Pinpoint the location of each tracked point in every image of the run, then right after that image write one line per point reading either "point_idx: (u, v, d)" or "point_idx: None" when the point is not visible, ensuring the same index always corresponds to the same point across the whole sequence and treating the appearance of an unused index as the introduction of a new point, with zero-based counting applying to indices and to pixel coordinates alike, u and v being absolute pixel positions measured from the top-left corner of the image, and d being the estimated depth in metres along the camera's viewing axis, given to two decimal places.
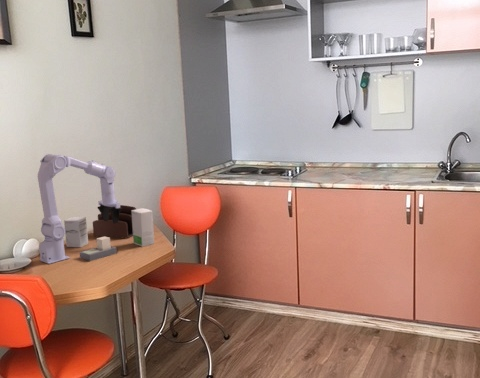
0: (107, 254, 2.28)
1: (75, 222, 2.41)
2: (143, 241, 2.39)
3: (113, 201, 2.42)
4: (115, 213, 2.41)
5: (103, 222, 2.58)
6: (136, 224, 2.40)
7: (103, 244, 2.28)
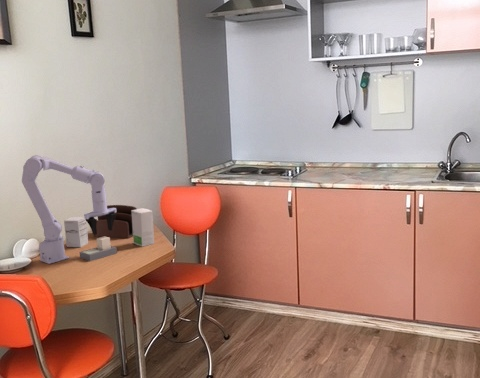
0: (107, 254, 2.28)
1: (75, 222, 2.41)
2: (143, 241, 2.39)
3: (95, 211, 2.25)
4: None
5: (103, 222, 2.58)
6: (136, 224, 2.40)
7: (103, 244, 2.28)
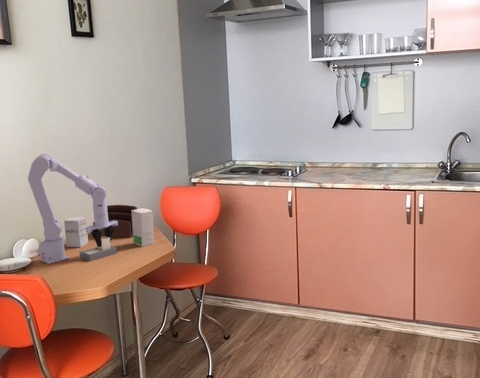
0: (107, 254, 2.28)
1: (75, 222, 2.41)
2: (143, 241, 2.39)
3: (96, 224, 2.26)
4: (97, 236, 2.28)
5: None
6: (136, 224, 2.40)
7: (103, 244, 2.28)
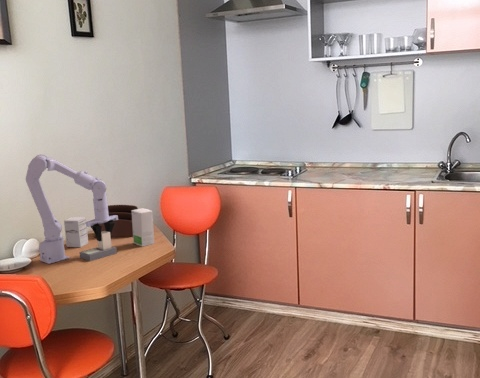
0: (107, 254, 2.28)
1: (75, 222, 2.41)
2: (143, 241, 2.39)
3: (97, 219, 2.26)
4: (97, 230, 2.28)
5: None
6: (136, 224, 2.40)
7: (103, 238, 2.28)
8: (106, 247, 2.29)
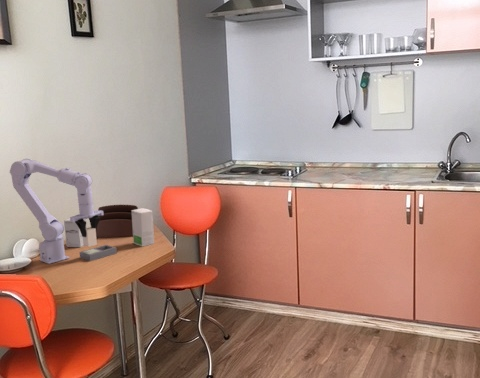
0: (107, 254, 2.28)
1: None
2: (143, 241, 2.39)
3: (81, 214, 2.21)
4: None
5: (106, 222, 2.57)
6: (136, 224, 2.40)
7: (88, 235, 2.22)
8: (91, 244, 2.24)
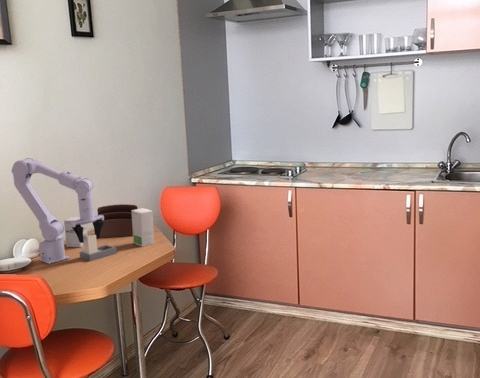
0: (107, 254, 2.28)
1: None
2: (143, 241, 2.39)
3: (82, 219, 2.21)
4: (79, 232, 2.21)
5: (107, 222, 2.57)
6: (136, 224, 2.40)
7: (89, 241, 2.23)
8: (92, 250, 2.24)
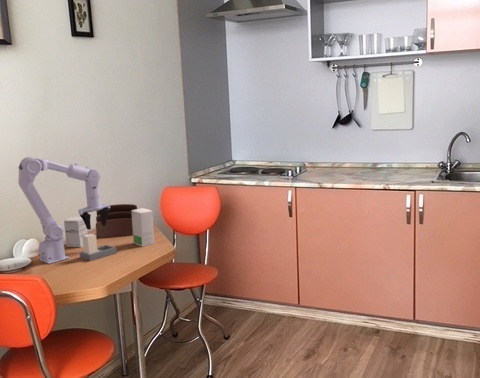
0: (107, 254, 2.28)
1: (75, 222, 2.41)
2: (143, 241, 2.39)
3: (89, 206, 2.31)
4: None
5: (109, 222, 2.57)
6: (136, 224, 2.40)
7: (89, 241, 2.23)
8: (92, 250, 2.24)
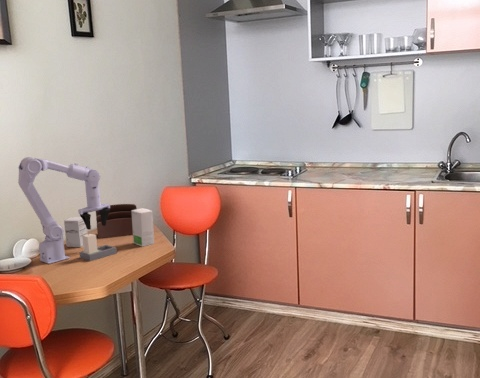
0: (107, 254, 2.28)
1: (75, 222, 2.41)
2: (143, 241, 2.39)
3: (89, 206, 2.31)
4: None
5: (110, 222, 2.57)
6: (136, 224, 2.40)
7: (89, 241, 2.23)
8: (92, 250, 2.24)
